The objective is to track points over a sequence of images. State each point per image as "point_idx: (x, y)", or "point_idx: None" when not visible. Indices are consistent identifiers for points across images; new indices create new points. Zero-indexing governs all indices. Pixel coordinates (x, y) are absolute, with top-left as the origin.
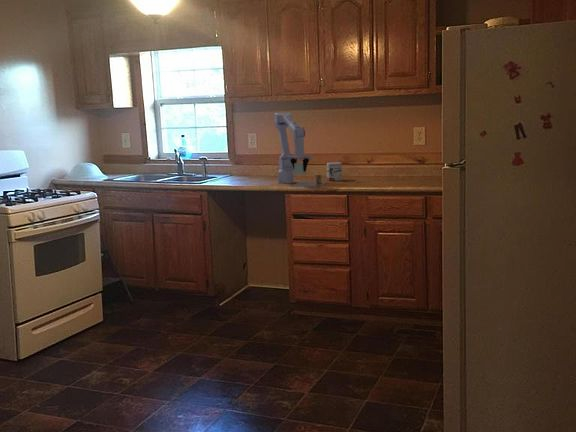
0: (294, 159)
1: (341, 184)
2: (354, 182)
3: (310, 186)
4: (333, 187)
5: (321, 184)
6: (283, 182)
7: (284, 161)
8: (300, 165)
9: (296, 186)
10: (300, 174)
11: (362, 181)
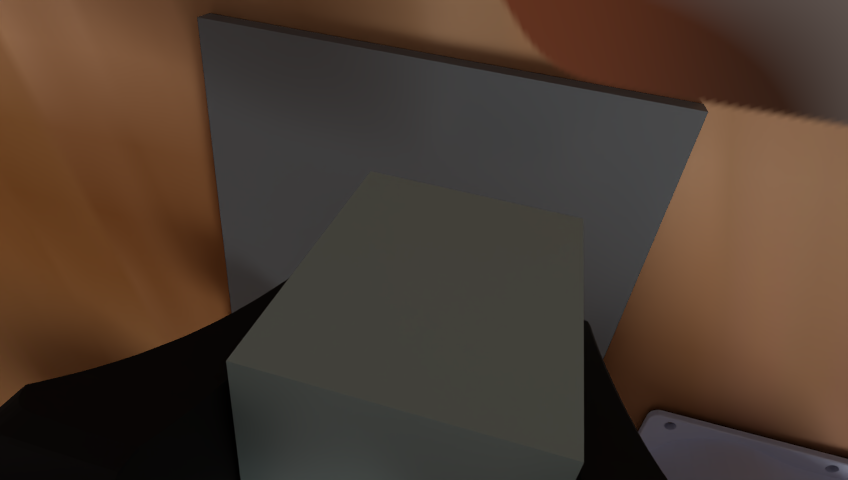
0: None
1: (77, 269)
2: (34, 353)
3: (318, 61)
4: (31, 45)
5: (234, 230)
6: (786, 474)
7: None
8: (343, 329)
9: (560, 102)
10: (432, 185)
11: (5, 383)
